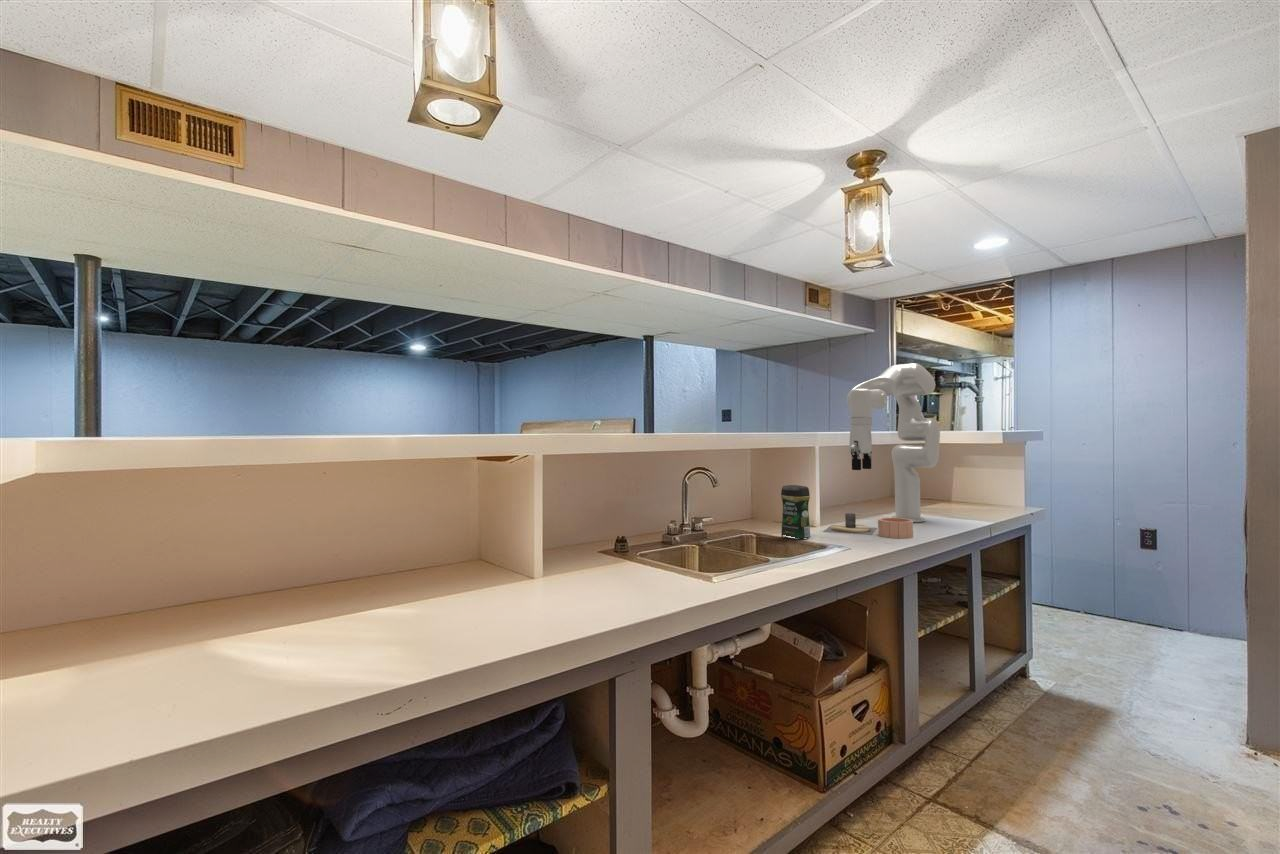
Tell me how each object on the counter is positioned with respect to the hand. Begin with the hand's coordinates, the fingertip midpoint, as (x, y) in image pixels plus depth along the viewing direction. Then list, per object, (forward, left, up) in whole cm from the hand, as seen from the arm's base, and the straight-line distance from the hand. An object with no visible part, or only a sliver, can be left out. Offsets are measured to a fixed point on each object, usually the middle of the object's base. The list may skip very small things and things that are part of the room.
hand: (861, 469), depth 214 cm
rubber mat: (-3, -5, -23) cm, 24 cm away
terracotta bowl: (+3, +11, -23) cm, 26 cm away
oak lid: (-3, -5, -23) cm, 23 cm away
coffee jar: (+19, -20, -24) cm, 36 cm away
